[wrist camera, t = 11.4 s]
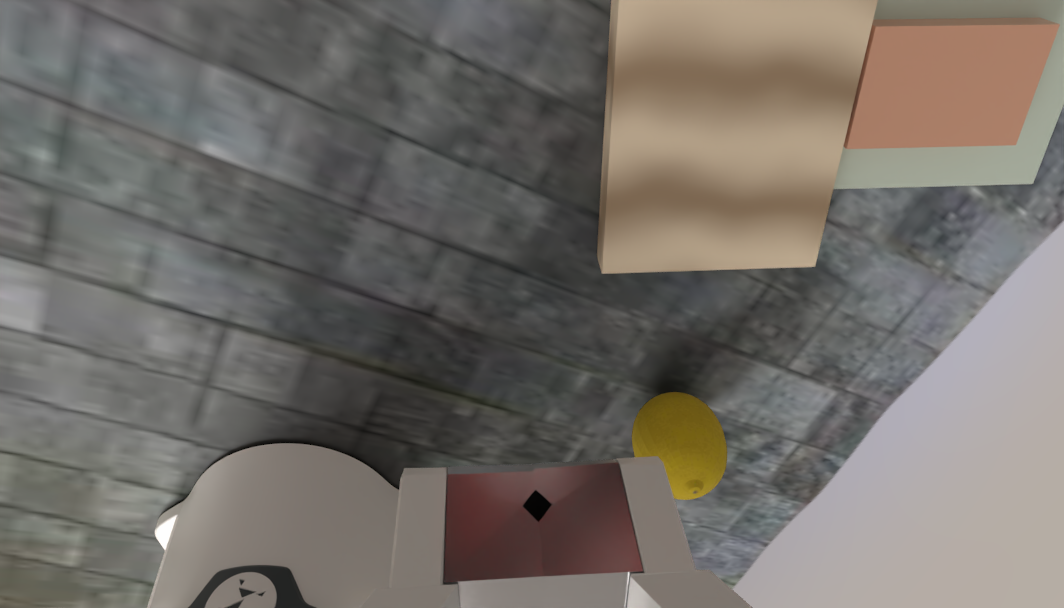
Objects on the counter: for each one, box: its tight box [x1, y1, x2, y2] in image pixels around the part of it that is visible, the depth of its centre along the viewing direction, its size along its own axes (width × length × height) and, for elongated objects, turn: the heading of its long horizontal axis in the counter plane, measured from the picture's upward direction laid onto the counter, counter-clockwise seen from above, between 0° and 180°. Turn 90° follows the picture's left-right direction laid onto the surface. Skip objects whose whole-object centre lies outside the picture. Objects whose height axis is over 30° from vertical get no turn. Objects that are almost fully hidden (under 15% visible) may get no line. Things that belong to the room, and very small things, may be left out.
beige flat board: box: [597, 0, 878, 274], centre depth 37 cm, size 20×12×2 cm, turn 0°
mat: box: [833, 0, 1064, 189], centre depth 38 cm, size 14×12×1 cm
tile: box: [844, 17, 1060, 149], centre depth 38 cm, size 6×9×2 cm, turn 90°
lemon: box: [632, 392, 727, 500], centre depth 46 cm, size 6×6×8 cm
